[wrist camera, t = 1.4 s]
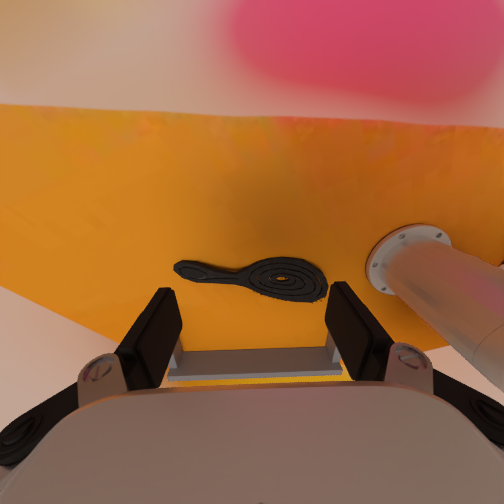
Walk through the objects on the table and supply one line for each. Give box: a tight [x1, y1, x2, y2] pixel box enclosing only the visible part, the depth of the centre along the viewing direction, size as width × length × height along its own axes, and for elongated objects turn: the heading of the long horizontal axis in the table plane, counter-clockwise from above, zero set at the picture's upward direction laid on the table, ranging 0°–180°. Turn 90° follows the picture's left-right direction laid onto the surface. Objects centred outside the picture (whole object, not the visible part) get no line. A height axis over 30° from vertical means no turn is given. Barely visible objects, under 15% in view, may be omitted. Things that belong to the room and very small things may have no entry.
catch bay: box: [167, 331, 343, 381], centre depth 36 cm, size 33×14×5 cm, turn 91°
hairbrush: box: [174, 257, 329, 304], centre depth 31 cm, size 8×4×25 cm
